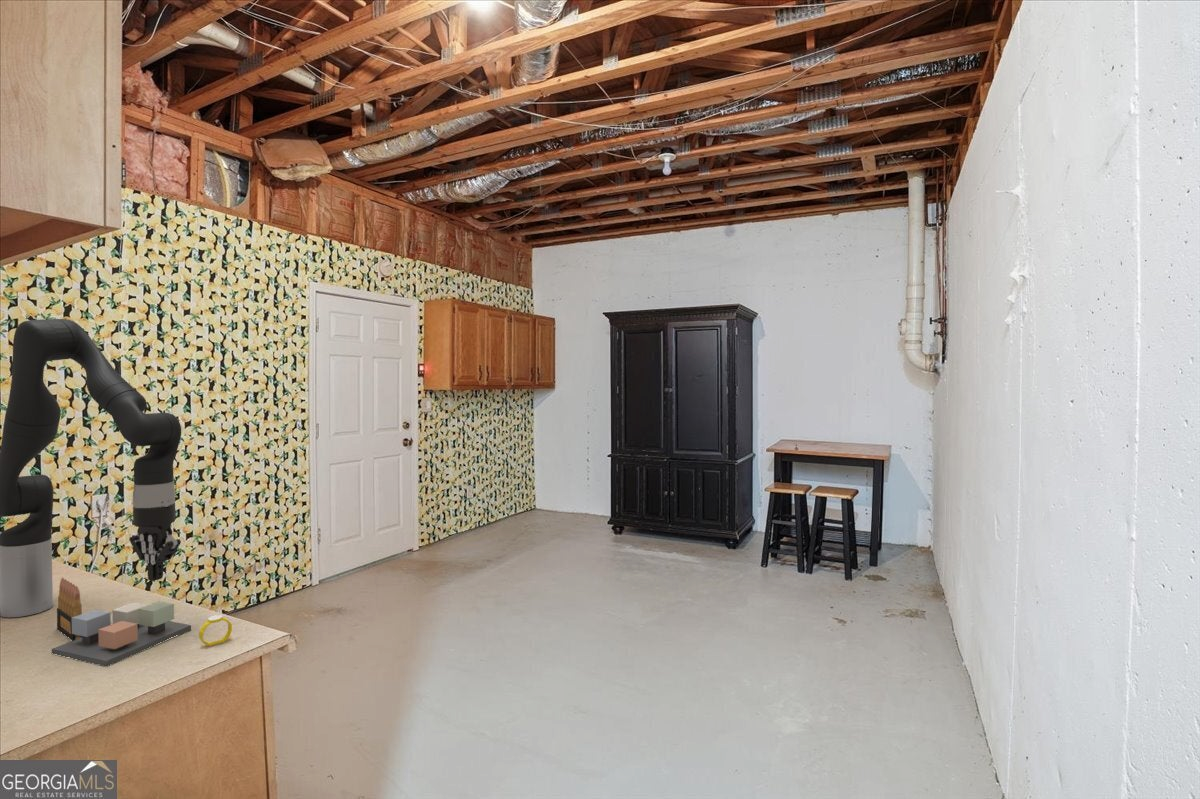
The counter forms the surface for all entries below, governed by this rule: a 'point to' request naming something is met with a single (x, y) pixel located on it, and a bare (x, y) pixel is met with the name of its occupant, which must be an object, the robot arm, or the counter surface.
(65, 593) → the ammunition clip
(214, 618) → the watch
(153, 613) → the sage key
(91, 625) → the slate key
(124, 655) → the keypad board
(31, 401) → the robot arm
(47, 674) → the counter surface
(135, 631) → the terracotta key
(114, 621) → the cream key
